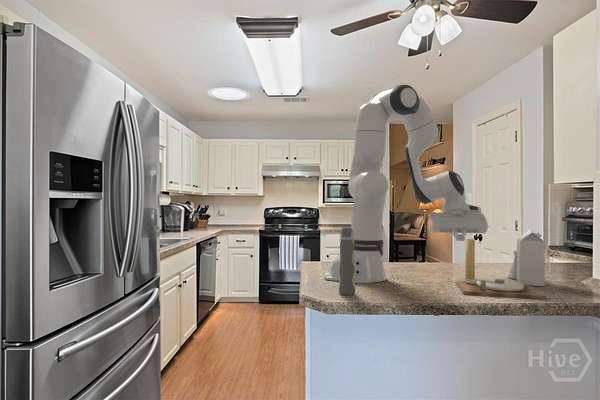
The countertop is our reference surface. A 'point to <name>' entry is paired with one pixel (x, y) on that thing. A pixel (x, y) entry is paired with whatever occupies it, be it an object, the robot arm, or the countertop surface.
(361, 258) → the robot arm
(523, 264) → the milk carton
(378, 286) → the countertop surface
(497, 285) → the white and beige stand
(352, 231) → the grey upright post
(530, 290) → the base board
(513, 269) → the flask
